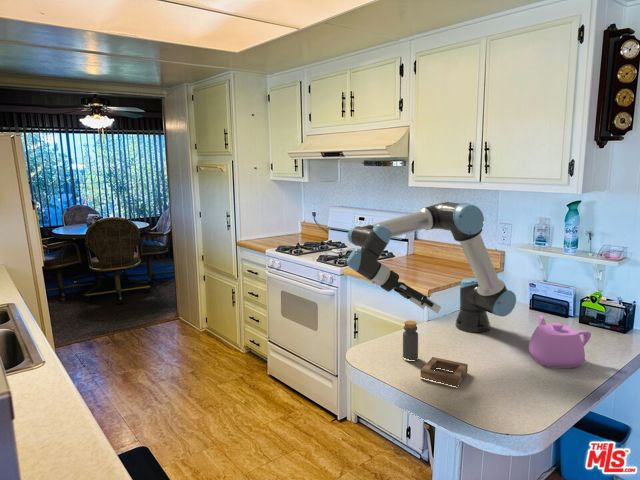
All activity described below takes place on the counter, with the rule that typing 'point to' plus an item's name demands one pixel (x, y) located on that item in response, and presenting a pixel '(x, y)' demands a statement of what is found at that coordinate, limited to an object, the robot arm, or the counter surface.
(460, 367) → the block
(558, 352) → the teapot
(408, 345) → the bottle
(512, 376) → the counter surface
